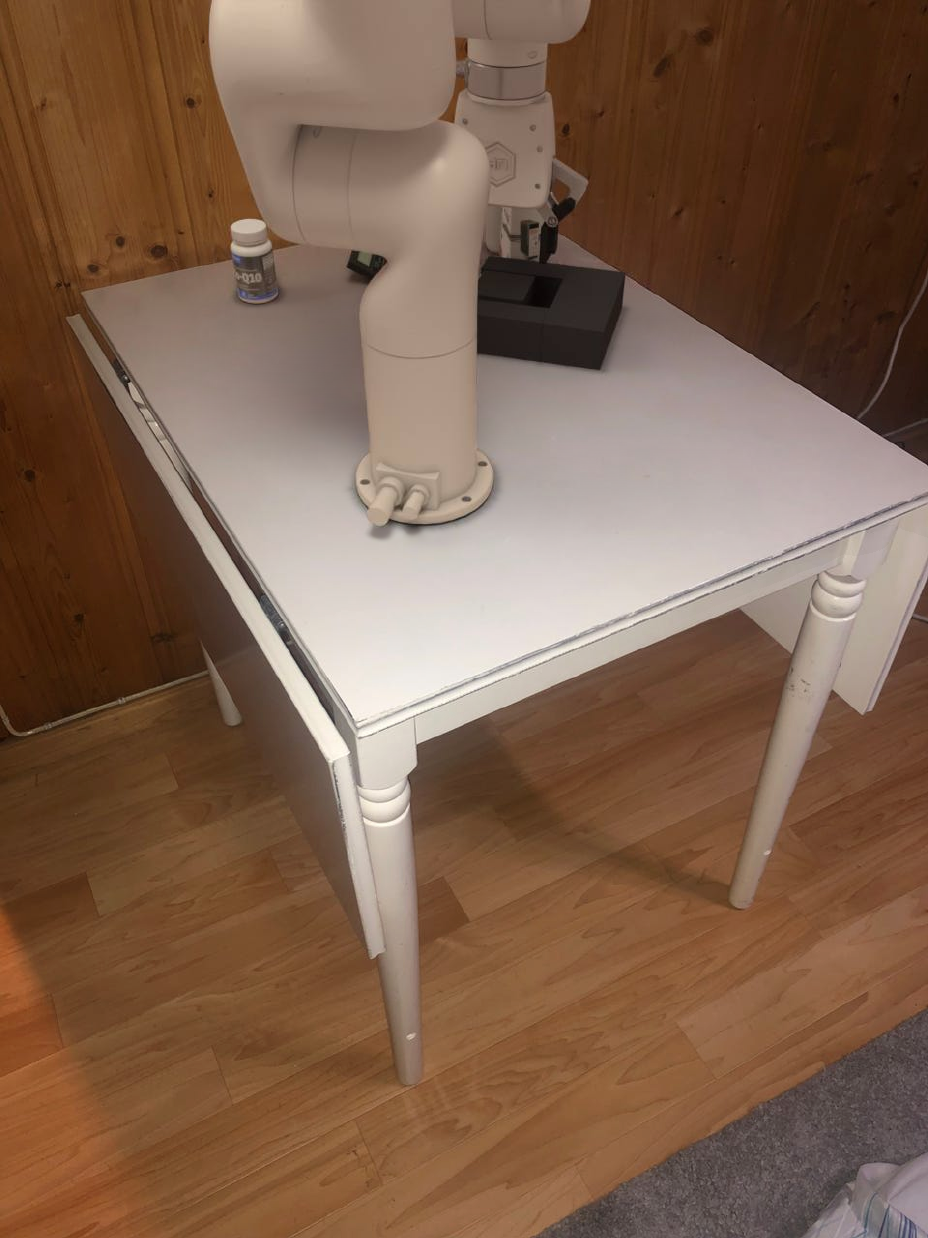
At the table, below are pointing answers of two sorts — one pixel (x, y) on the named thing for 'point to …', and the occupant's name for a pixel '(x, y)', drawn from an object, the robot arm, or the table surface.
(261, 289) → the pill bottle
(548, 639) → the table surface
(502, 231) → the ink box
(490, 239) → the beverage can
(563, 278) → the base pad
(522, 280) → the black block
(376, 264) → the calculator
